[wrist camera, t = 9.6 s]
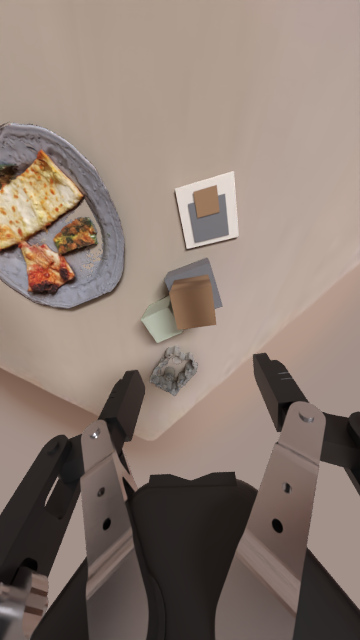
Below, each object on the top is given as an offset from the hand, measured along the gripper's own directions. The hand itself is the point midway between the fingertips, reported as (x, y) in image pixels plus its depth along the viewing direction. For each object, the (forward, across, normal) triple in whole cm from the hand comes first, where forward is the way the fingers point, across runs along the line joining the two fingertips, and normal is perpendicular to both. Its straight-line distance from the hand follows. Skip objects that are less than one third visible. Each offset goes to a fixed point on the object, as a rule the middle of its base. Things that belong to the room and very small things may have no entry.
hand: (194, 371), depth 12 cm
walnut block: (+16, 0, 0) cm, 17 cm away
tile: (+21, -4, -10) cm, 24 cm away
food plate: (+22, +21, -13) cm, 33 cm away
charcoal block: (+22, 0, 0) cm, 22 cm away
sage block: (+21, +6, +4) cm, 23 cm away
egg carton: (+22, +8, +18) cm, 29 cm away
